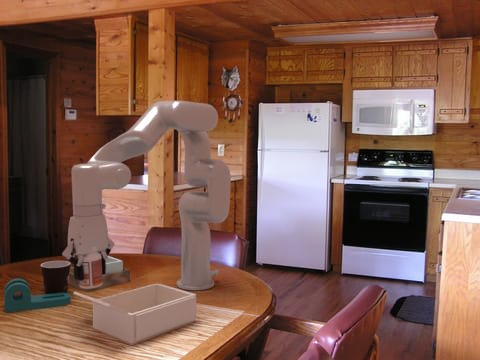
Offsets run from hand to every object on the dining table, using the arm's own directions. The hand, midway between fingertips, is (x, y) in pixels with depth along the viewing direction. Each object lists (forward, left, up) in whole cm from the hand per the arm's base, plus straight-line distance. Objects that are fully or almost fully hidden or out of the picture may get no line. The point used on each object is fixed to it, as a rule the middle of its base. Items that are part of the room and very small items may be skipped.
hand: (90, 276), depth 142 cm
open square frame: (-22, -30, -12) cm, 39 cm away
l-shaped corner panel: (-23, -29, -13) cm, 39 cm away
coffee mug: (-6, -26, -12) cm, 29 cm away
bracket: (+3, -21, -13) cm, 25 cm away
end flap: (+4, +14, -4) cm, 15 cm away
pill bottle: (0, 0, -3) cm, 3 cm away
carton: (-7, +14, -12) cm, 20 cm away
